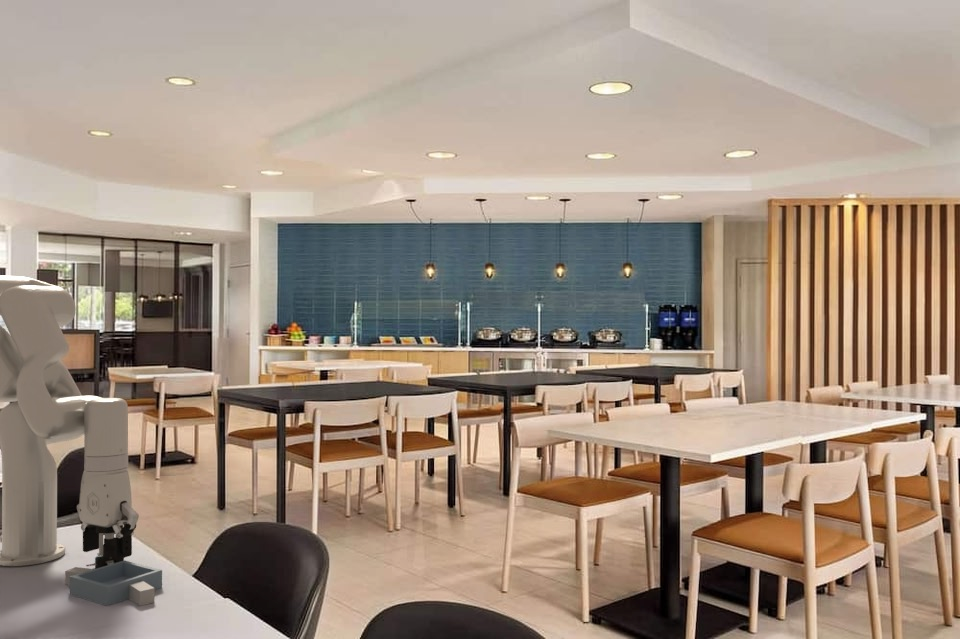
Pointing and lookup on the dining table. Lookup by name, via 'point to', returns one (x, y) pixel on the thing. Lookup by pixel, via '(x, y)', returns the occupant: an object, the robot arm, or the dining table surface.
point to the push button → (106, 547)
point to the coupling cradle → (115, 583)
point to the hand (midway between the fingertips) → (107, 553)
